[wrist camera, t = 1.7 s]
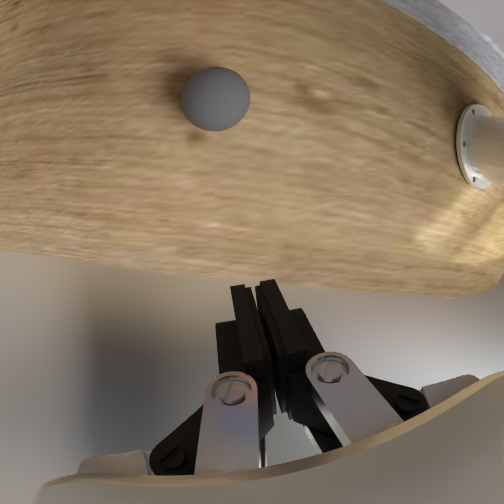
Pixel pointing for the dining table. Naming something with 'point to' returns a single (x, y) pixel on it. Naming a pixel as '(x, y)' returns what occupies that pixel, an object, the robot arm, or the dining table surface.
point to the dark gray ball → (215, 99)
